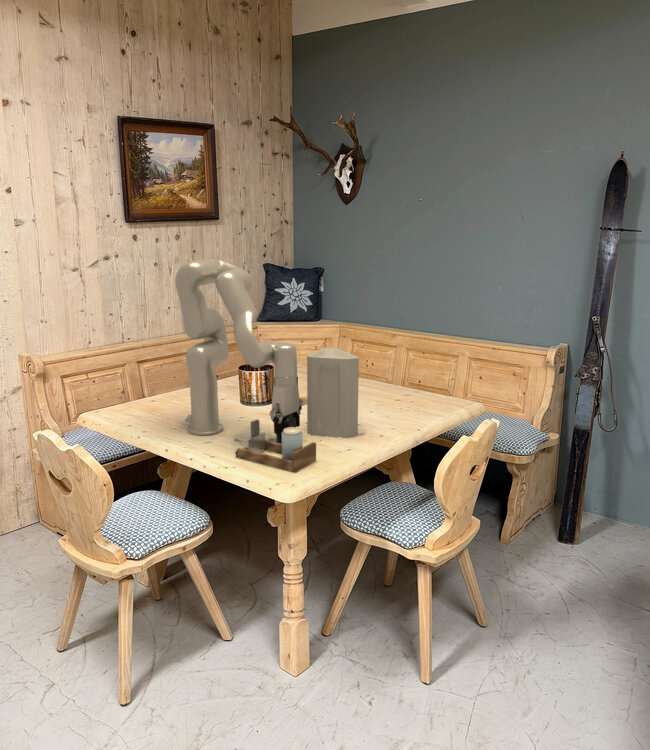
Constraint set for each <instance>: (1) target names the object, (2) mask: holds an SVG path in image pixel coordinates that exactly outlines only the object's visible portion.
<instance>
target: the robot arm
mask: <svg viewBox="0 0 650 750" xmlns="http://www.w3.org/2000/svg"><path fill="white" fill-rule="evenodd" d="M174 279H175V281H174V282H175V283H174V284H175V290H176V293H177V296H178V301H179V305H180V306H179V307H180V310H181V316H182V322H183V327H184V331H185V334H186V336H187V337H188V338H189V339H190V340H201V339H203V341H202V342H198V343H195V344H194V345H192V346H190V347H189V348H188V350H187V352H186V354H185V363H186V367H187V371H188V372H187V373H188V375H189V376H188V378H189V390H190V392H189V393H190V394H189V395H190V413H189V414H187V416H186V417H185V419H184V421H185V422H188V423H189V425H188V426H187V432H188V433H189V434H191V435H196V436H209V435H210V436H211V435H215V434H218V433H221V432H222V431H224V425H223V424H222V423H221V422H220V419H219V417H220V415H219V392H218V389H219V387H218V379H217V376H216V375H217V374H216V373H215V371H214V368H215V367H218V366H220V365H222V364H224V363H225V362H226V361H227V360H228V359H229V355H230V347H229V341H228V335H227V331H226V330H227V329H226V325H225V321H224V318H223V316H222V315H221V313H220V312H219V311H218V310H216V309H214V308H207V305H206V300H205V299H206V298H205V295H204V293H203V292H202V290H201V289H200V287H202V286H204V285H205V286H206V285H212V284H215V288H216V290H217V292H218V294H219V296H220V298H221V300H222V302H223V304H224V305H225V307H226V309H227V311H228V313H229V315H230V317H231V319H232V321H233V336H234V340H235V341H234V342H235V344H236V346H237V349H238V351H239V353H240V354H241V356H242V358H243V361H245V362H246V364H247V365H249V366H250V367H252V368H262V367H265V366H266V365H268V364H271V363H273V372H274V374H273V375H274V376H273V377H274V386H273V387H272V388H273V389H272V396H271V410H270V411H269V413H268V414H269V416H270V419H271V421H272V423H273V433H274V434H275V435H276V434H279V435H282V432H283V423H281V422H282V419H283V417H284V416H287V415H289V414H291V413H293V416H294V417H295V418H296V427H297V428H300V426H301V424H300V423H301V419H300V418H301V417H300V415H301V411H302V406H303V404H304V401H303V399H301V398H300V392H299V391H300V390H299V384H298V357H297V356H298V355H297V354H298V352H297V350H298V349H297V346H296V344H294V343H292V342H279V341H274V340H271V339H270V340H269V339H268V340H267V339H266V340H262V341H260V342H258V341H257V338H256V337H255V334H254V331H253V321H254V317H255V316H256V313H257V308H256V306H255V304H254V302H253V300H252V298H251V297H250V295H249V293H248V292H249V291H250V290H251V288H252V287H253V286H252V285H253V281H252V277H251V274H249V273H248V272H247V271H246V269H245V270H244V269H243V268H241V267H240V266H237V265H233V264H232V263H228V262H227V261H224V260H221V259H219V258H205V259H195V260H192V261H188V262H186V263H184V264H182V266H180V267H179V268H178V270H177V272H176V275H175V278H174ZM279 413H281V414H279ZM278 416H280V417H279V419H278V418H277V417H278Z"/></svg>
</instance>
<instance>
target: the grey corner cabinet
mask: <svg viewBox="0 0 650 750" xmlns="http://www.w3.org/2000/svg"><path fill="white" fill-rule="evenodd" d="M359 360H360V358H359V357H358V356H356V355H353V354H351V353H349V352H346V351H344V350H342V349H339V348H337V347H326V348H325V347H324V348H322V349H319V350H316V351H314V352H312V353H309V354H307V356H306V367H307V368H306V383H307V384H306V389H307V390H306V394H307V395H306V396H307V397H306V401H307V403H306V404H307V405H306V406H307V408H306V409H307V410H306V411H307V412H306V413H307V414H306V417H307V418H306V419H307V422H306V424H307V426H306V429H307V434H308V435H309V434H310V435H309V436H313V435H318V436H317V437H326V436H328V437H329V438H338V437H341V438H342V439H350V437H351V438H356V437H355V436H357V437H358V435H359V434H358V429H359V427H358V426H359V379H360V377H359V374H360V372H359V371H360V368H359V367H360V361H359ZM341 438H340V439H341Z"/></svg>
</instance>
